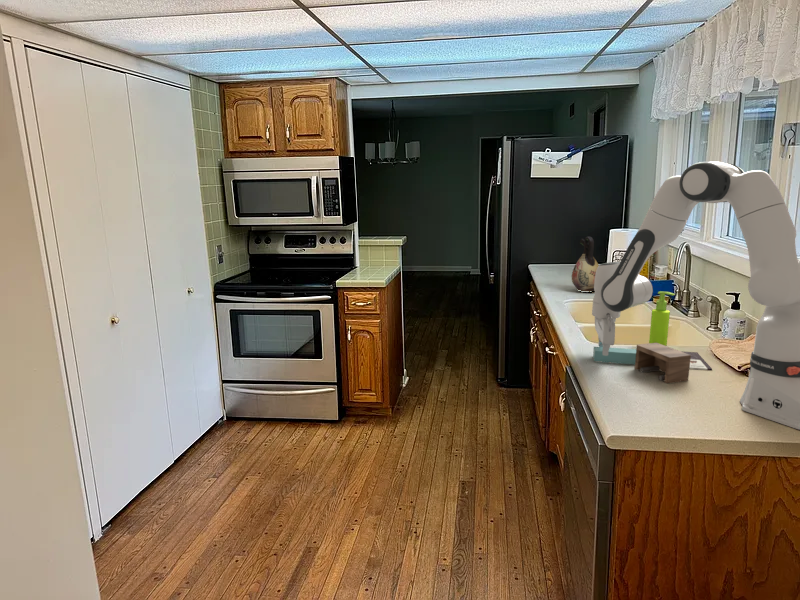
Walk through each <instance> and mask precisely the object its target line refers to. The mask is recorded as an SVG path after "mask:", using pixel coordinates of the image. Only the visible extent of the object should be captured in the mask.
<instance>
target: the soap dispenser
mask: <svg viewBox="0 0 800 600" xmlns="http://www.w3.org/2000/svg"><path fill="white" fill-rule="evenodd" d="M657 294H658V295H659V299H658V300H656V302H655V303H656V306H655V308H654V309H652V310H651V318H650V326H649V327H650V329H649V339H648V344H649V343H659V344H662V345H665V346H667V345H668V334H669V327H670V314H671V311H670V310H668V309H667V308H668V307H667V304H668V301H667V300H665V298H666V295H669V296H672V297H673V296H675V295H676V293H673V292H670V291H657ZM667 347H668V346H667Z"/></svg>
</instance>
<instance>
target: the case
mask: <svg viewBox="0 0 800 600" xmlns="http://www.w3.org/2000/svg"><path fill="white" fill-rule="evenodd" d="M602 349H603V347H599V346H593V351H592V352H593V353H592V359H593V358H594V359H593V362H594V361H602V362H601V363H609V362H611V364H626V365H635V360H636V348H623V347H622V348H621V347H610V348H609V352H608V356H604V355H603V354H602Z"/></svg>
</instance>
